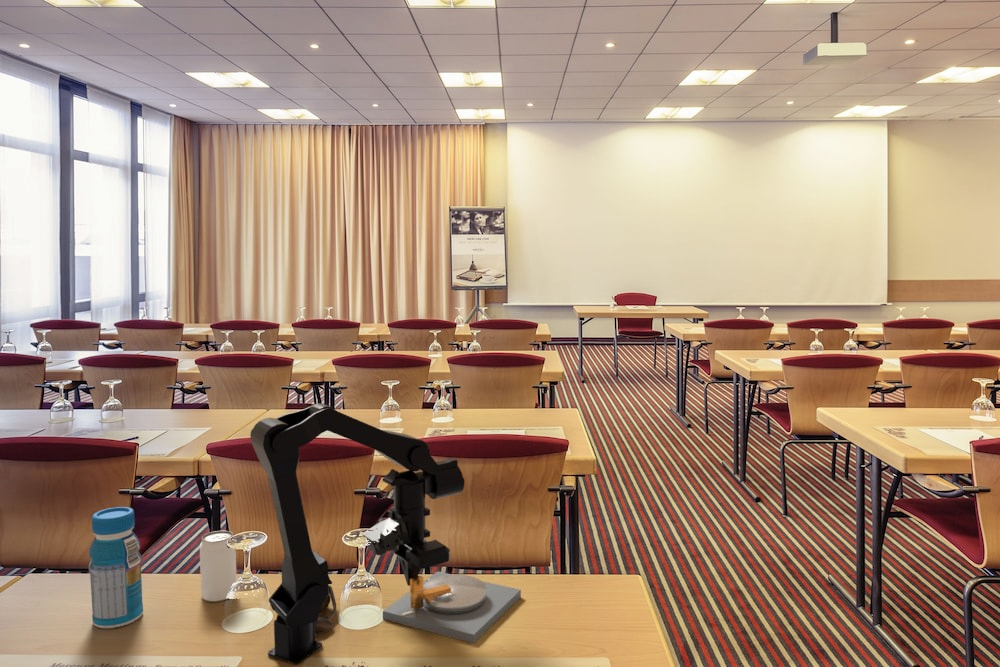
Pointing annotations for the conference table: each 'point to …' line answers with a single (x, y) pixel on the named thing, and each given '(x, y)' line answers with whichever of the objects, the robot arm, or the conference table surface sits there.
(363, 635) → the conference table surface
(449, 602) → the dial
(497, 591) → the dial plate
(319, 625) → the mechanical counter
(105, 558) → the beverage bottle
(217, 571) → the can
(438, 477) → the robot arm
